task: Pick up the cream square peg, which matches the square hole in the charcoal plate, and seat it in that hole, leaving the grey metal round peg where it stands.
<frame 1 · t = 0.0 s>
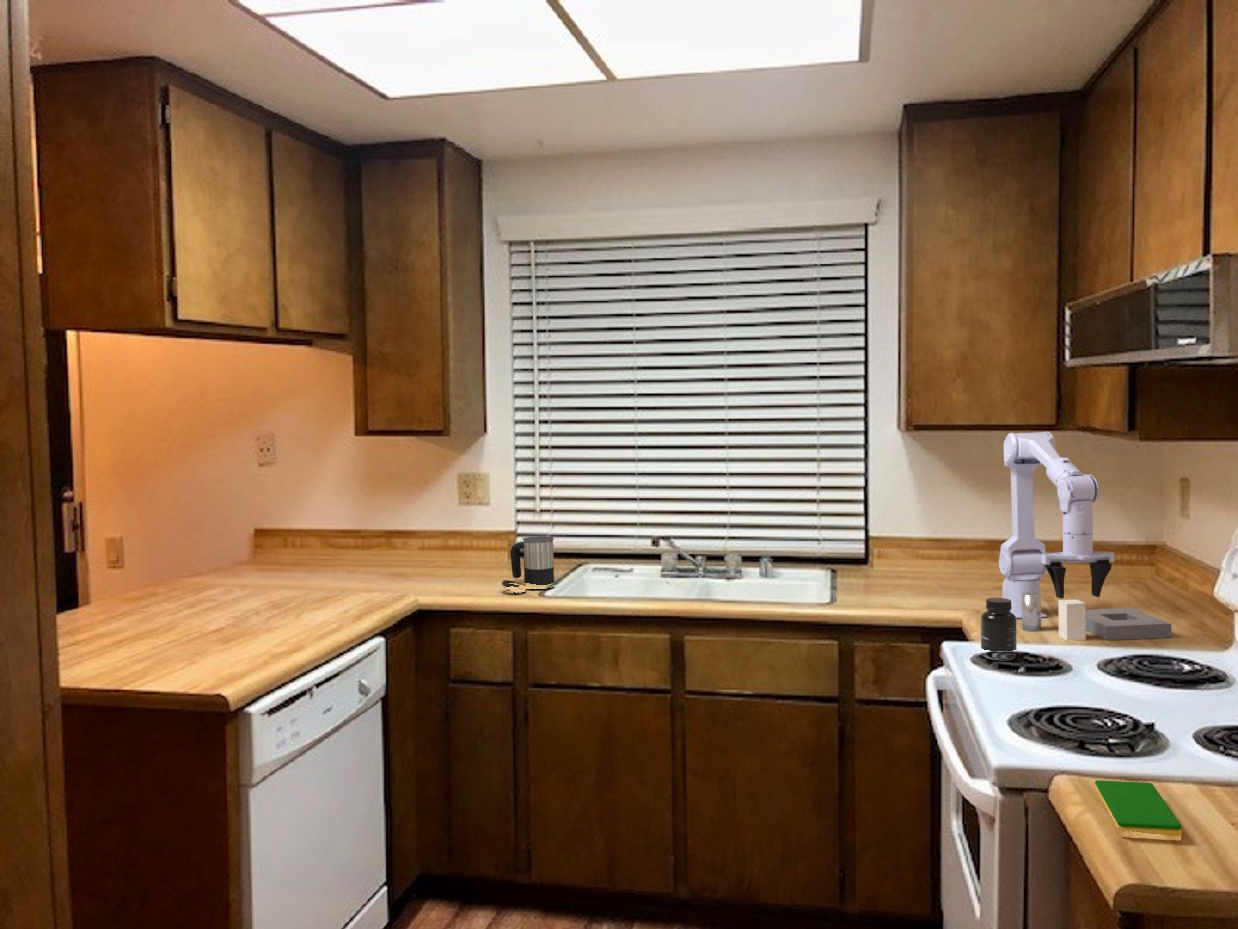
hand: (1077, 596, 215), 10 cm above the worktop, tool pointing down, fingers open, 7 cm apart
milk frother: (529, 591, 297), on the worktop
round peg: (1031, 629, 229), on the worktop
supplement bottle: (998, 658, 207), on the worktop
dish sponge: (1136, 821, 131), on the worktop
square peg: (1072, 638, 220), on the worktop
socket plate: (1119, 630, 225), on the worktop
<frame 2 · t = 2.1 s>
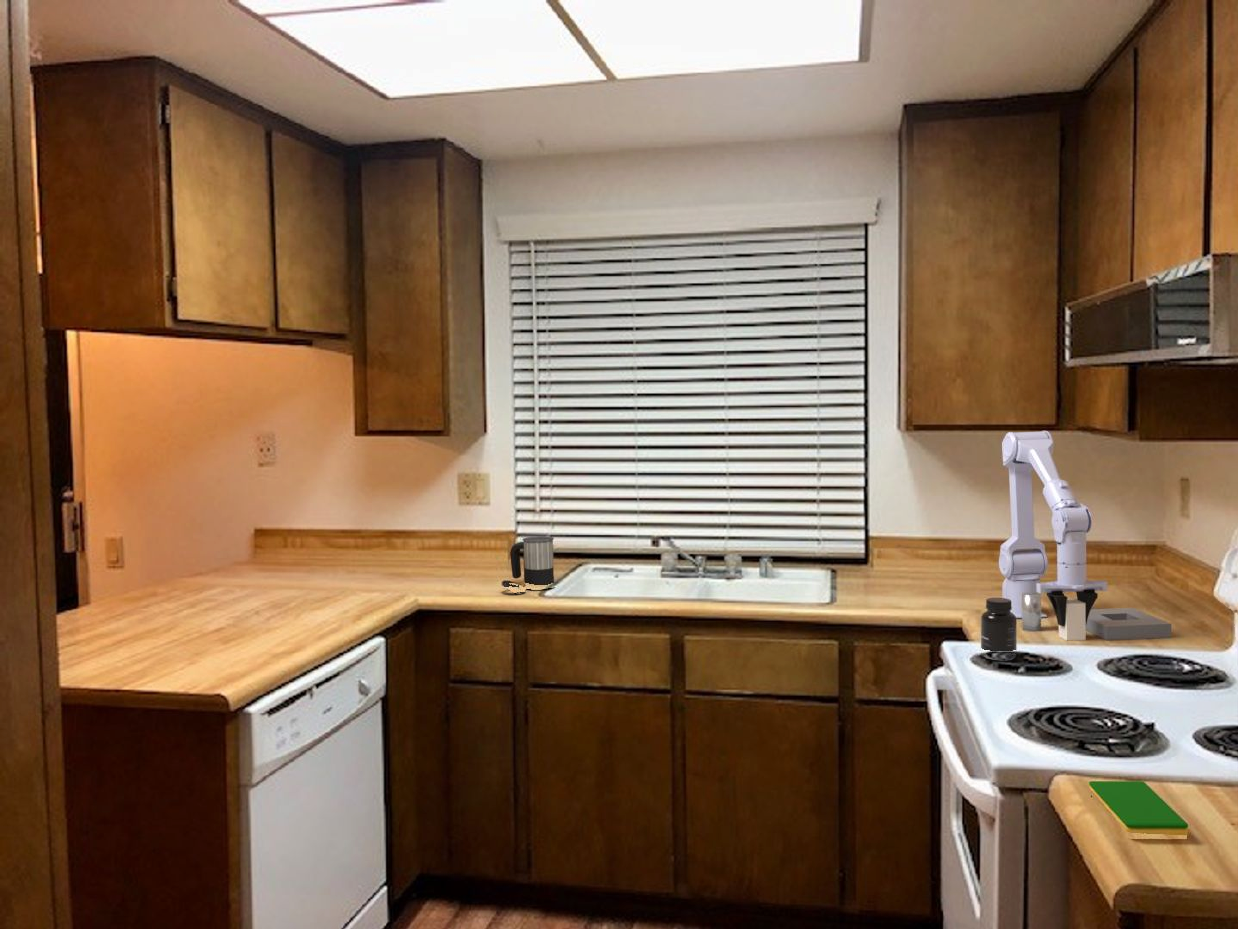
hand: (1071, 624, 220), 3 cm above the worktop, tool pointing down, fingers closed on square peg, 4 cm apart
square peg: (1072, 638, 220), on the worktop, touching gripper
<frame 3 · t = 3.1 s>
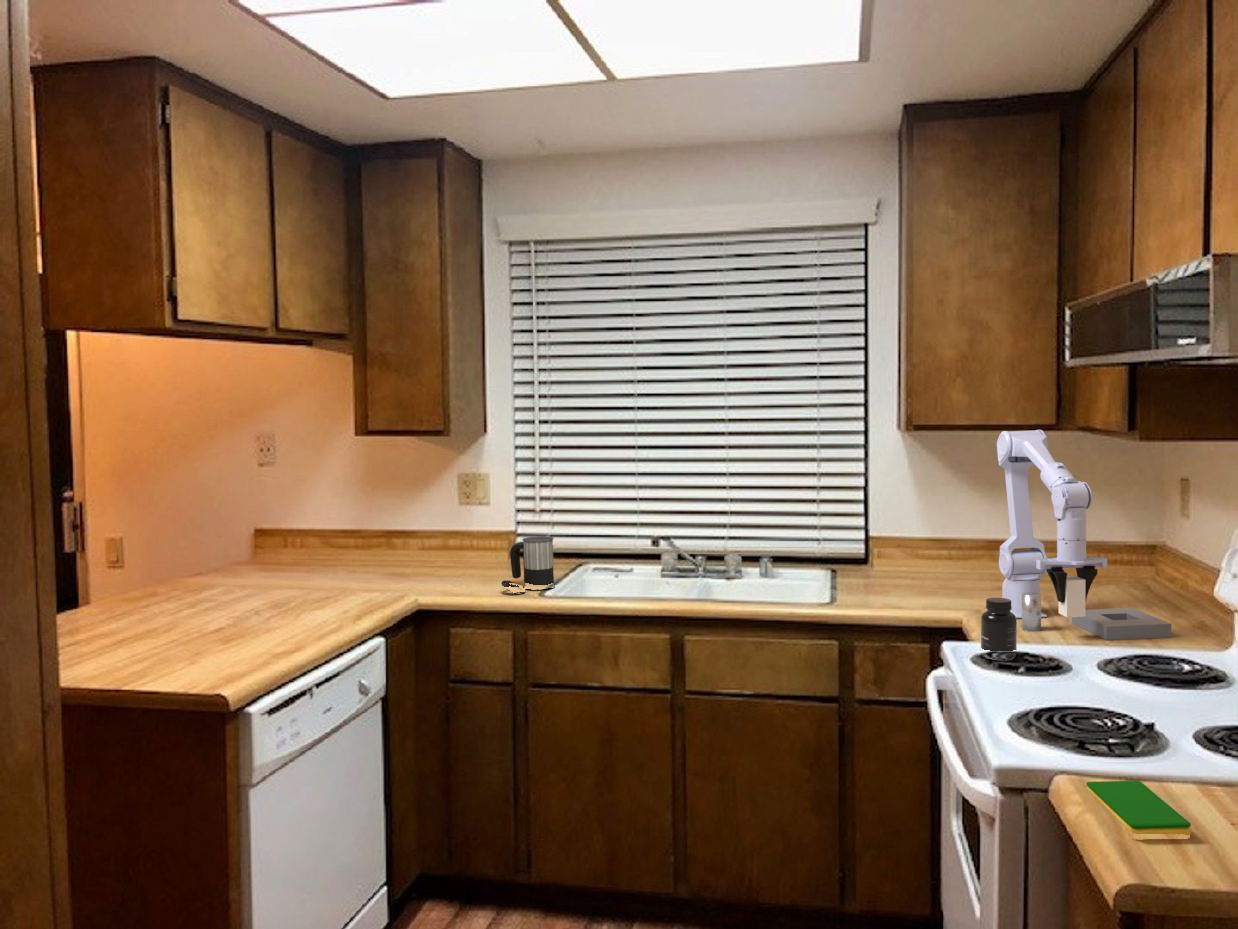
hand: (1071, 601, 220), 8 cm above the worktop, tool pointing down, fingers closed on square peg, 4 cm apart
square peg: (1071, 615, 220), point 5 cm above the worktop, touching gripper
everything else where it was.
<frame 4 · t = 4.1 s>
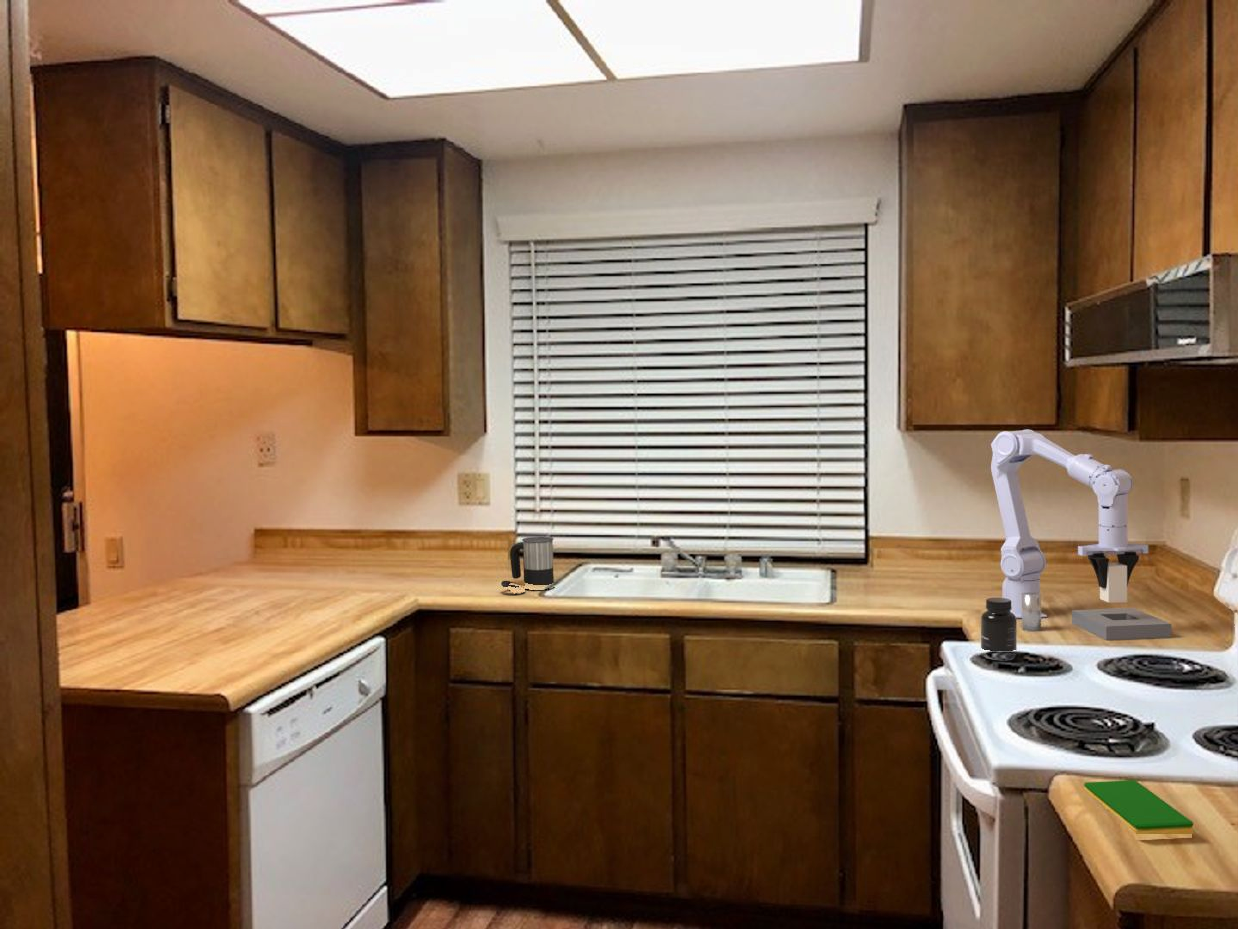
hand: (1113, 586, 224), 10 cm above the worktop, tool pointing down, fingers closed on square peg, 4 cm apart
square peg: (1113, 600, 224), point 7 cm above the worktop, touching gripper
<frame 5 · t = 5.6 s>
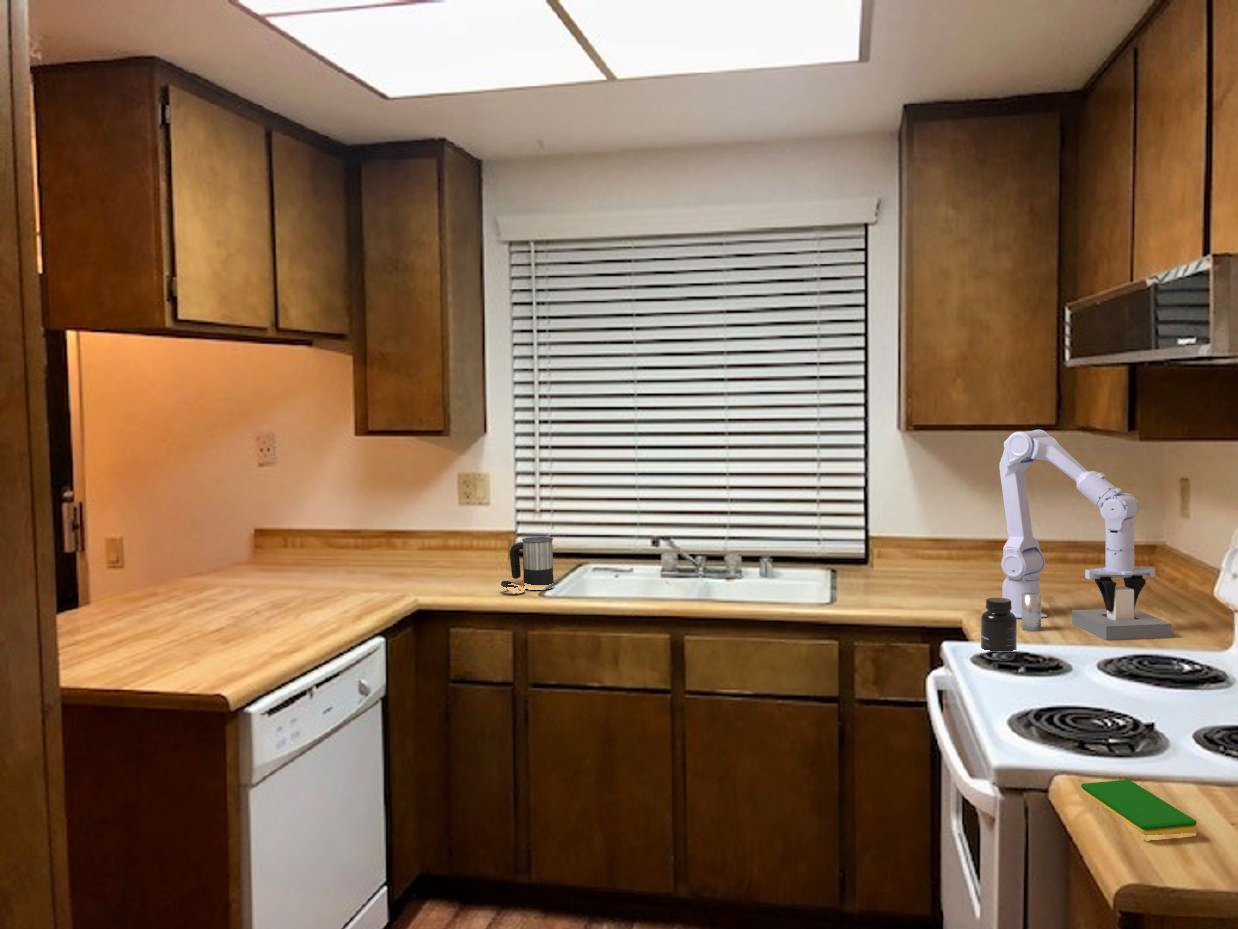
hand: (1119, 610, 225), 4 cm above the worktop, tool pointing down, fingers closed on square peg, 4 cm apart
square peg: (1120, 623, 225), point 1 cm above the worktop, touching gripper
when the fingers open (4 cm above the worktop, at t = 6.4 s): square peg drops 1 cm, on the worktop.
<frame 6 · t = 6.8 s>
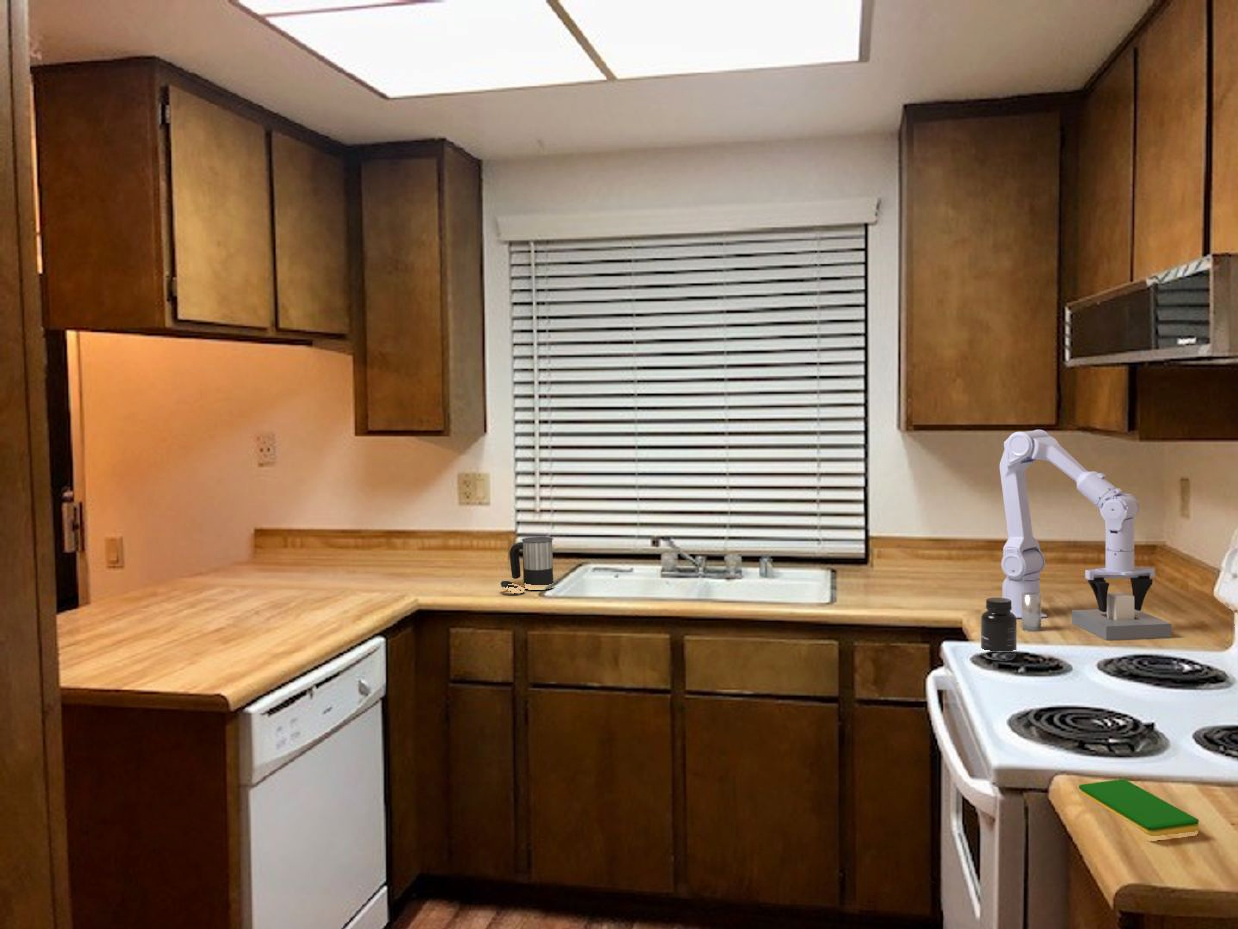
hand: (1119, 610, 225), 4 cm above the worktop, tool pointing down, fingers open, 7 cm apart
square peg: (1120, 630, 225), on the worktop
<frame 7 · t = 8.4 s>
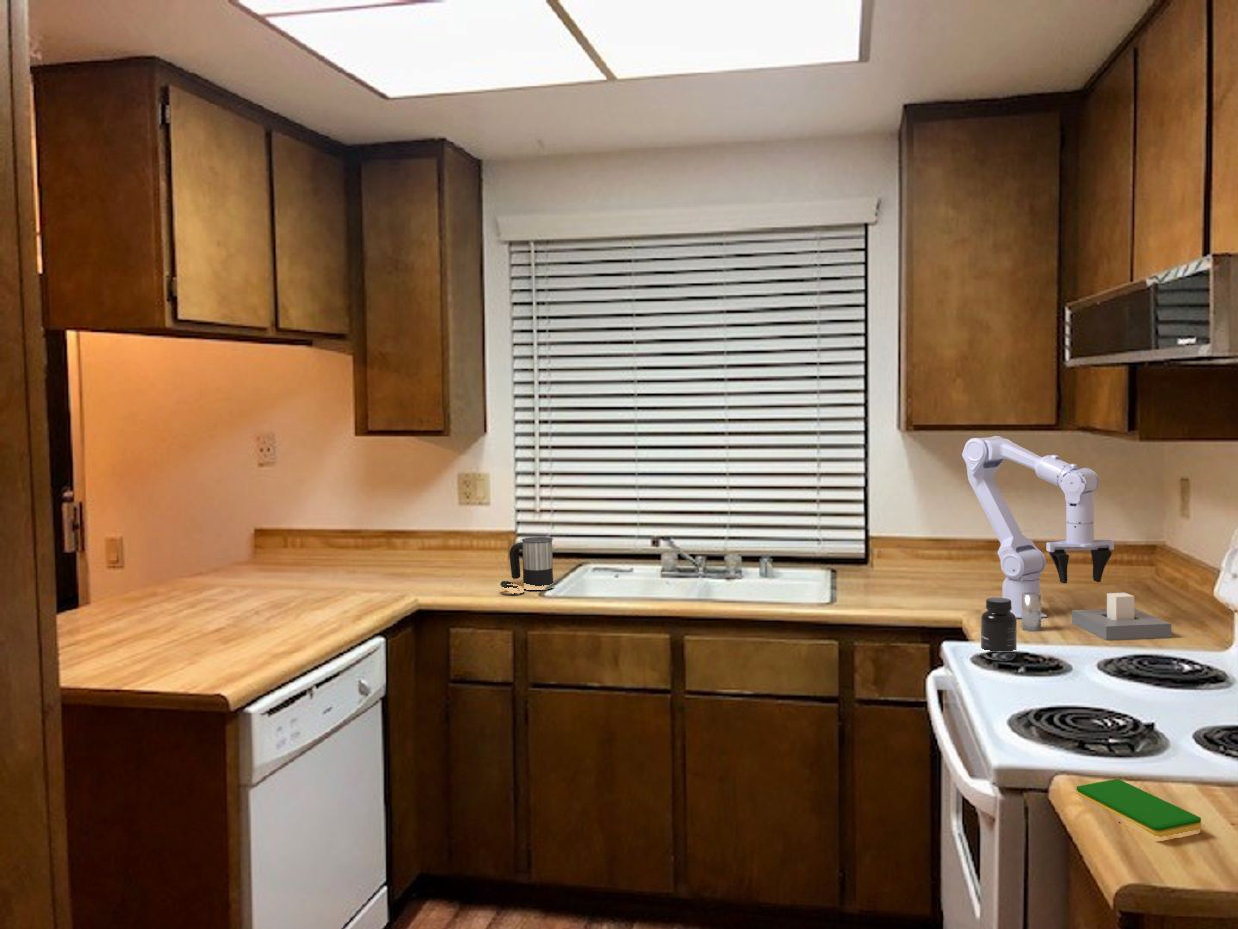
hand: (1080, 582, 231), 10 cm above the worktop, tool pointing down, fingers open, 7 cm apart
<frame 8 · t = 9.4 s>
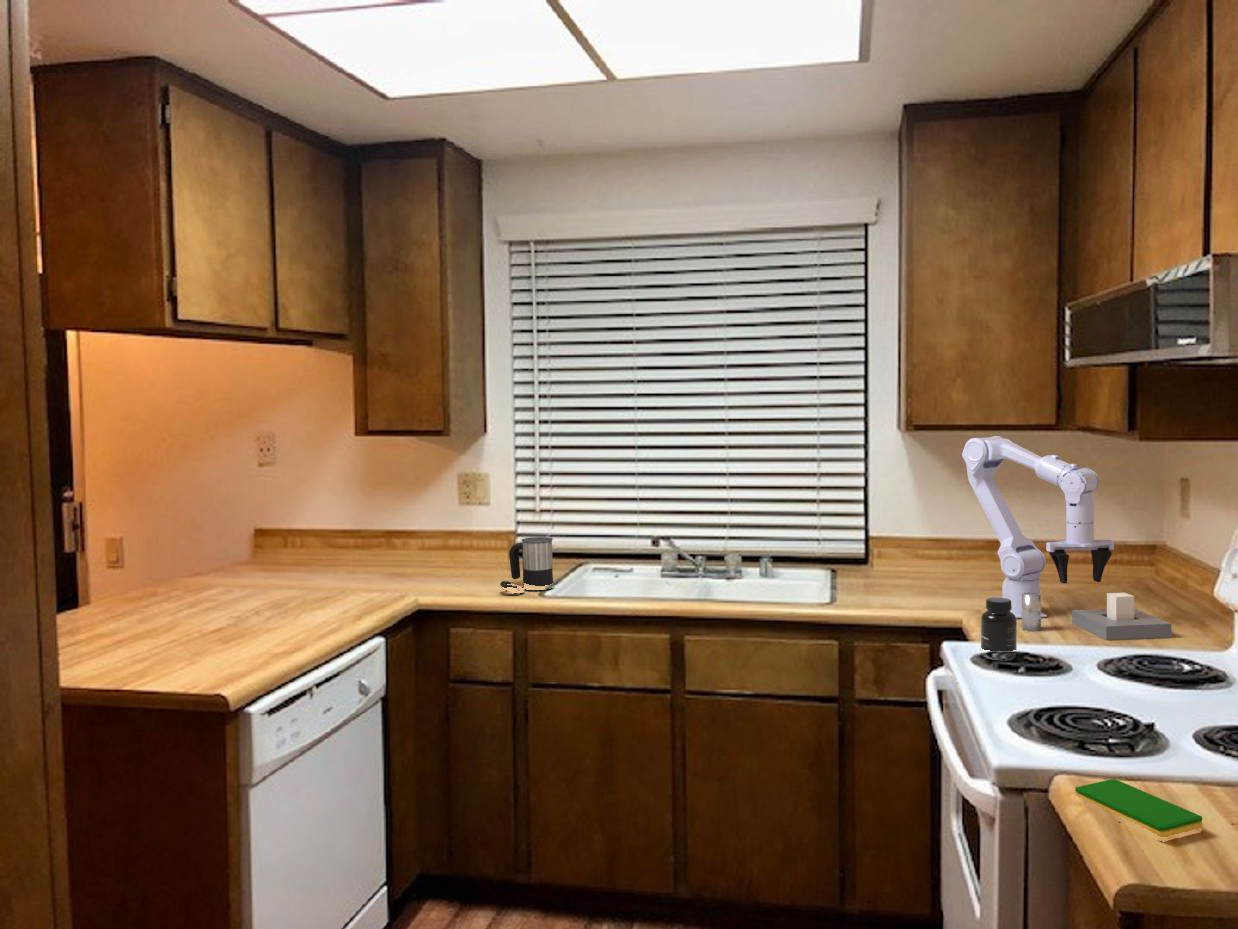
hand: (1080, 582, 231), 10 cm above the worktop, tool pointing down, fingers open, 7 cm apart
at the end: square peg 0.2 cm off-centre on the socket plate, point 0.0 cm above the socket plate's base; square peg tilted 0°; the gripper is holding nothing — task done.
